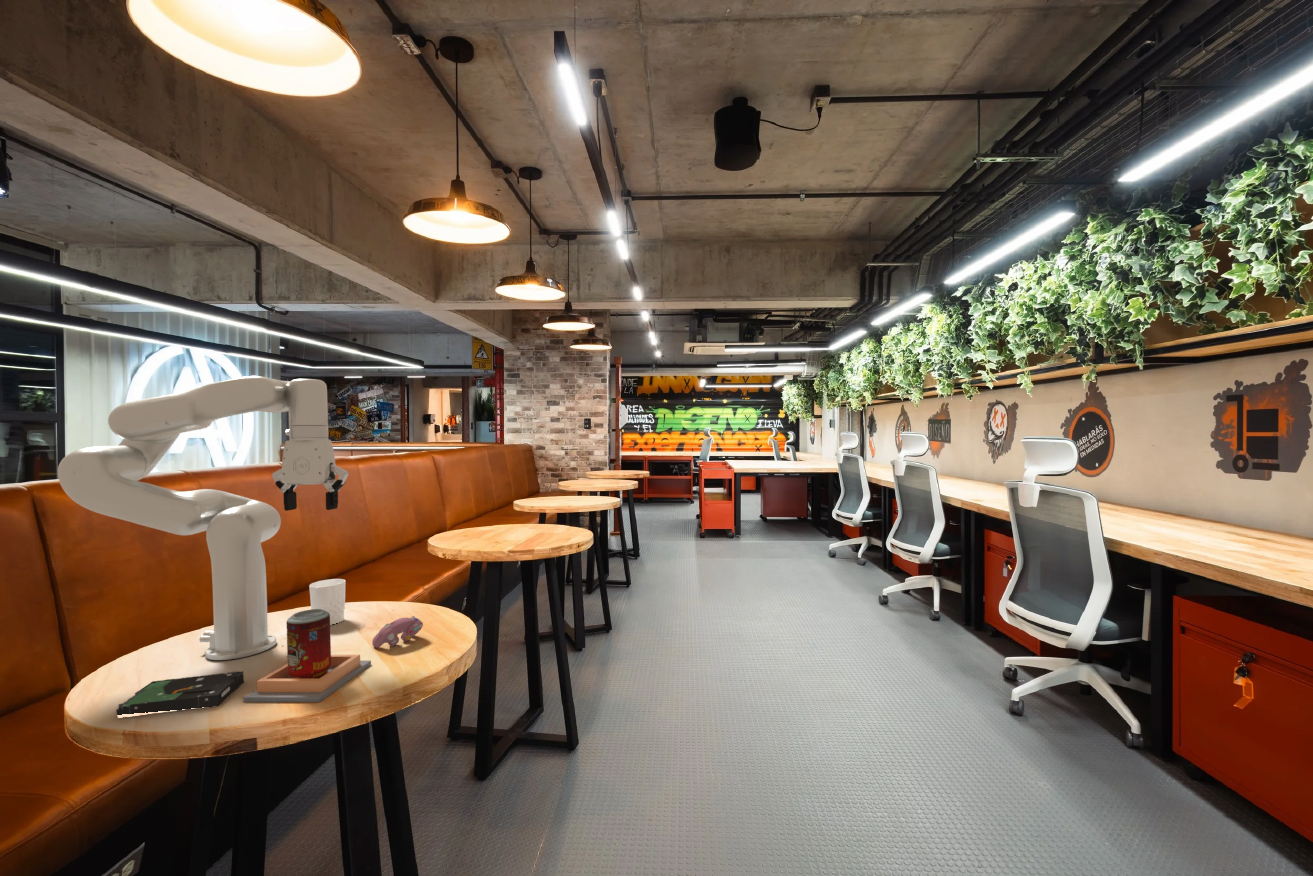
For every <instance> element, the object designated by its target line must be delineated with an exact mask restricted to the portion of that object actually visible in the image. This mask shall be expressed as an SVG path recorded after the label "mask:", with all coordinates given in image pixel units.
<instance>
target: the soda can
mask: <svg viewBox="0 0 1313 876" xmlns="http://www.w3.org/2000/svg"><path fill="white" fill-rule="evenodd" d="M331 639H332V638H331V626H330V614H329V612H327V611H325V610H322V609H307V610H301V611H298V612H295V613H293V614H292V615H291V616H290V617H288V618H287V620H286V648H287V649H286V650H287V652H286V653H287V654H286V655H287V656H286V657H287V663H288V674H289V676H290V677H291V678H292V679H320V678H321V677H323V676H324V675H326V674H327V672H328V670H329V668H330V666H331V655H332V651H331V648H332V647H331V645H332V644H331Z"/></svg>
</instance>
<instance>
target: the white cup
mask: <svg viewBox="0 0 1313 876" xmlns="http://www.w3.org/2000/svg"><path fill="white" fill-rule="evenodd" d="M308 586H309V587H308V588H309V596H310V597H309V598H310V608H311V609H322V610H325V611H327V612H329V614H330V625H331V626H333V625H332V624H335V625H337V624H336V623H338V624H340V623H342V622H343V621H344V619H345V608H346V579H342V578H331V579H323V580H318V581H315V582H312V583H310V584H309V585H308ZM311 609H310V610H311ZM341 621H342V622H341ZM339 622H340V623H339Z"/></svg>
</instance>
